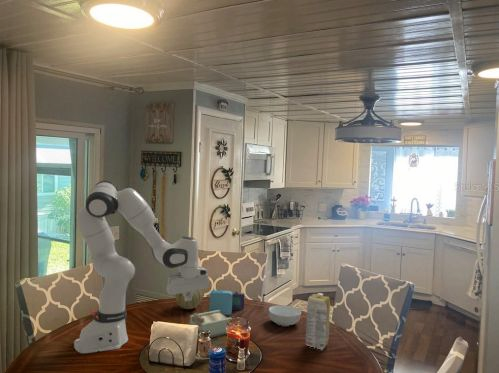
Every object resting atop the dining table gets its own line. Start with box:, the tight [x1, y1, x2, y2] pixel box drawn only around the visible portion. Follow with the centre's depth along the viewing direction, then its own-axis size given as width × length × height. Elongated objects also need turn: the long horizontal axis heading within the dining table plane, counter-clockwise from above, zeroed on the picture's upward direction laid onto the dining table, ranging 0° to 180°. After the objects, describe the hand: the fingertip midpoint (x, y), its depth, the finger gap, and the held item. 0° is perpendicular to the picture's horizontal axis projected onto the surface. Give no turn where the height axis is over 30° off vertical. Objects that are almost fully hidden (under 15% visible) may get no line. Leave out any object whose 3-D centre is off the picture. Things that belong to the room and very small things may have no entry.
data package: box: [208, 289, 233, 316], centre depth 217 cm, size 12×4×12 cm, turn 91°
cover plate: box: [193, 312, 228, 326], centre depth 193 cm, size 15×9×4 cm, turn 124°
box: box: [189, 310, 233, 338], centre depth 193 cm, size 16×13×7 cm
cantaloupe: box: [175, 290, 203, 310], centre depth 222 cm, size 15×15×15 cm
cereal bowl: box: [268, 304, 302, 327], centre depth 206 cm, size 17×17×7 cm
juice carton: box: [305, 292, 331, 351], centre depth 181 cm, size 9×8×24 cm
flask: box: [232, 289, 245, 311], centre depth 225 cm, size 9×3×11 cm, turn 91°
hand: (188, 300), depth 185 cm, fingers closed
